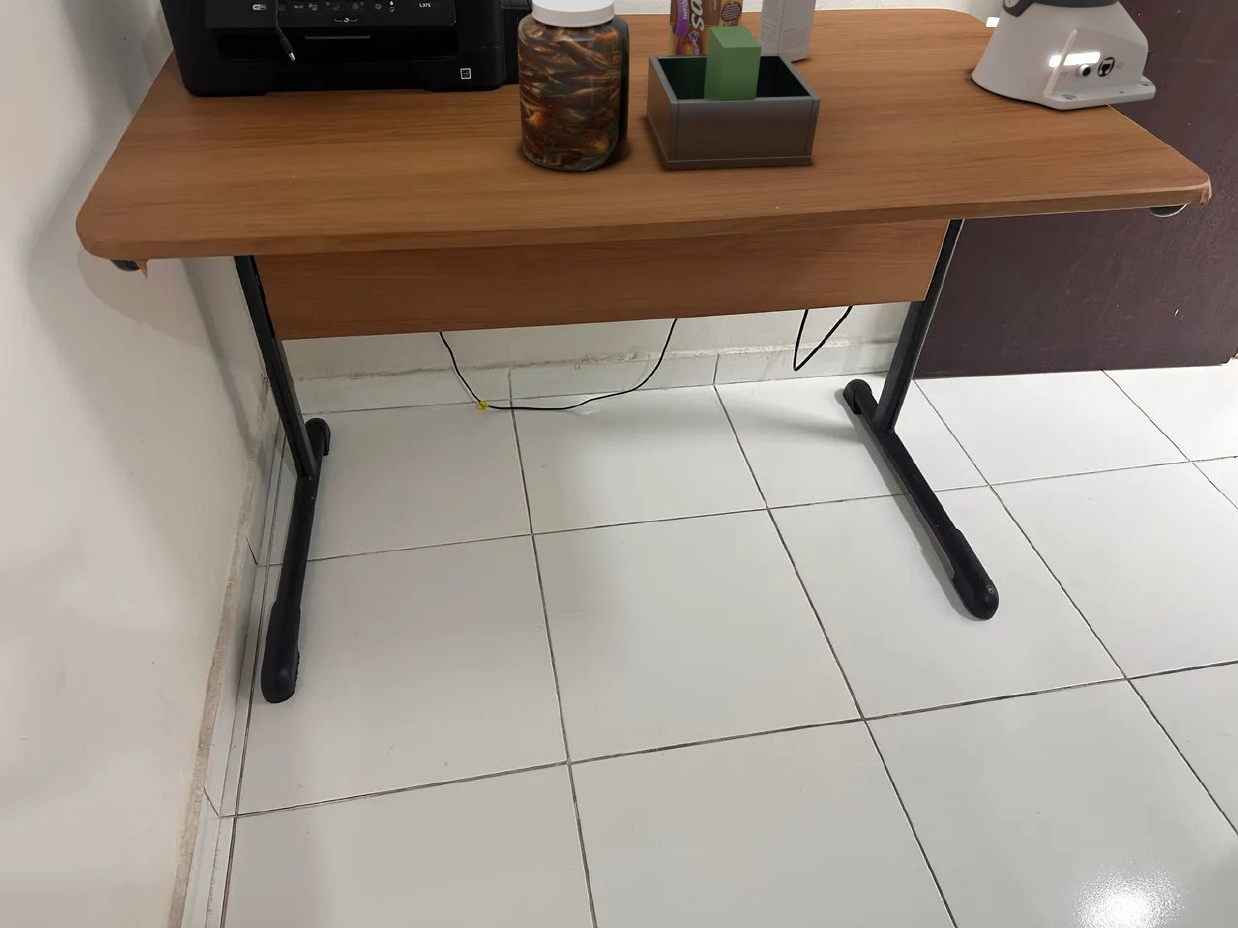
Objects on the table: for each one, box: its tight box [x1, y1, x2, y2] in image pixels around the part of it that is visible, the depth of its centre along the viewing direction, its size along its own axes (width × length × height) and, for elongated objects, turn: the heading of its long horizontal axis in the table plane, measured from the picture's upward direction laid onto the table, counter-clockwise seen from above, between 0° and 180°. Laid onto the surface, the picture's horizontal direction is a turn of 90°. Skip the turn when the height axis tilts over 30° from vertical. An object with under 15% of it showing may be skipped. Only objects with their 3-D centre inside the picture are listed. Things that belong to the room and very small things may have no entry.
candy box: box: [667, 0, 744, 55], centre depth 107 cm, size 9×4×15 cm, turn 39°
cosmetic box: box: [757, 0, 817, 63], centre depth 115 cm, size 6×4×12 cm
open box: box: [646, 53, 822, 171], centre depth 95 cm, size 16×15×7 cm
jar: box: [517, 0, 631, 172], centre depth 90 cm, size 12×12×15 cm
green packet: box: [704, 25, 762, 99], centre depth 94 cm, size 4×7×10 cm, turn 7°
